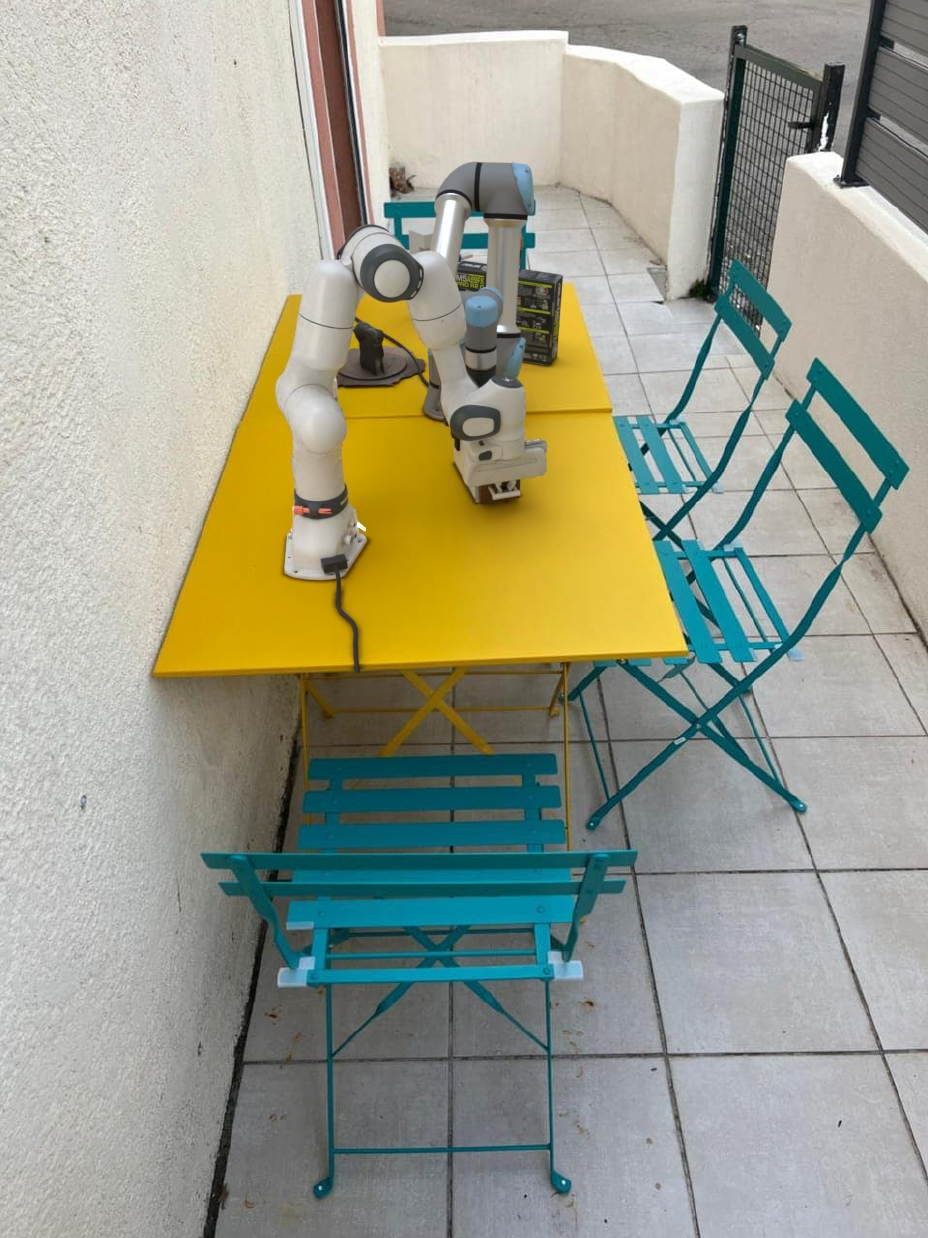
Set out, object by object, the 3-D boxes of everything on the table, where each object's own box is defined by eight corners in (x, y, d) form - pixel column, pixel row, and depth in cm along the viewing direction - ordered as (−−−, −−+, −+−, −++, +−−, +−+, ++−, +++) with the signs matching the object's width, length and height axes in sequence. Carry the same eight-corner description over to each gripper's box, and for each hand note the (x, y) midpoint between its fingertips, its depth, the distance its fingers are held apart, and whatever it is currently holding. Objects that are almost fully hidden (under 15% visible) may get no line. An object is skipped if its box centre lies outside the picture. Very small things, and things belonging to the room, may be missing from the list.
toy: (460, 304, 319) (459, 216, 299) (477, 312, 313) (477, 222, 294) (381, 329, 302) (375, 237, 283) (398, 337, 296) (393, 244, 277)
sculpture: (406, 397, 263) (403, 345, 252) (297, 384, 270) (290, 333, 259) (437, 352, 287) (436, 303, 277) (336, 341, 294) (331, 293, 284)
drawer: (526, 509, 215) (528, 474, 209) (486, 516, 213) (487, 480, 206) (497, 461, 232) (498, 428, 226) (460, 467, 230) (459, 433, 224)
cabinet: (518, 495, 221) (520, 454, 214) (475, 502, 219) (475, 461, 211) (495, 457, 236) (496, 417, 228) (454, 464, 233) (453, 423, 226)
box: (558, 357, 283) (564, 272, 266) (551, 366, 278) (556, 280, 261) (461, 342, 293) (461, 259, 276) (453, 350, 288) (452, 266, 271)
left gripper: (543, 431, 209) (540, 481, 218) (460, 443, 205) (460, 494, 214) (552, 443, 204) (549, 494, 213) (467, 456, 200) (468, 508, 209)
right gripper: (522, 352, 218) (519, 432, 232) (428, 363, 213) (431, 444, 227) (532, 364, 212) (528, 445, 226) (436, 376, 207) (438, 458, 221)
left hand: (504, 494), depth 214 cm, fingers closed
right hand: (480, 445), depth 226 cm, fingers closed on cabinet, 11 cm apart
